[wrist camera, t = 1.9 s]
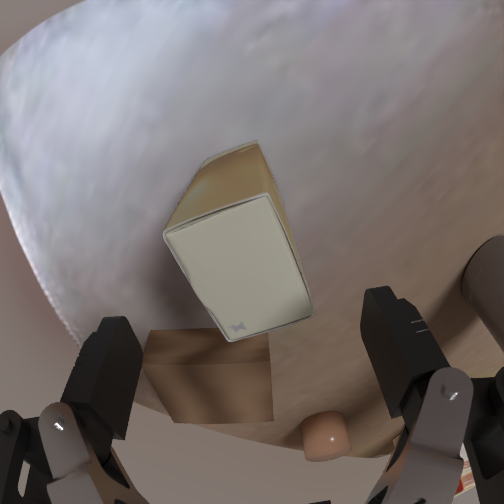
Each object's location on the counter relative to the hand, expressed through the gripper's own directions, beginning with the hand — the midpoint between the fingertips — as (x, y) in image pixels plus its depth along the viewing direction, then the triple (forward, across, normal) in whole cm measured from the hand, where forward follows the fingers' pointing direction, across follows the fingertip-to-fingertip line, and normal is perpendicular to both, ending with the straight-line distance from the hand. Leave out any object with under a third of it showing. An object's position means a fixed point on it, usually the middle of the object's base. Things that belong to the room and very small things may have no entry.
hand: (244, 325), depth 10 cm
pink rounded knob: (+14, -7, +38) cm, 41 cm away
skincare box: (+15, 0, 0) cm, 15 cm away
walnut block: (+15, +6, +20) cm, 26 cm away
